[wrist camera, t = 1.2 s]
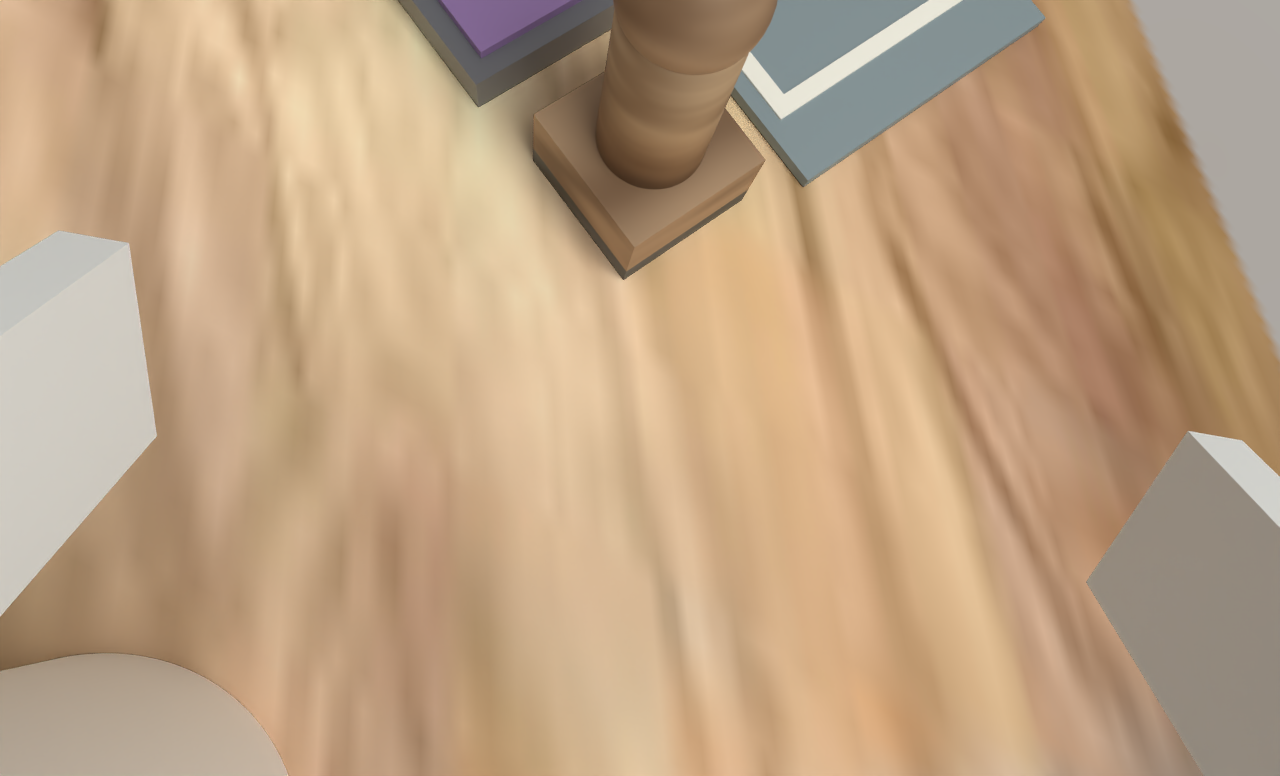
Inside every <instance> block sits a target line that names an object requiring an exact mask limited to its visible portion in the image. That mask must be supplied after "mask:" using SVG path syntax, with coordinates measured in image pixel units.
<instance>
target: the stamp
mask: <svg viewBox="0 0 1280 776" xmlns="http://www.w3.org/2000/svg"><path fill="white" fill-rule="evenodd" d="M777 1H778V0H613V3H614V8H615V9H614V15H613V22H612V28H611V35H610V41H609V48H608V54H607V60H606V67H605V72H603V73H601V74H600V75H598V76H596V77H595V78H593V79H591V80H590V81H588V82H586V83H585V84H583V85H581V86H580V87H578V88H576V89H575V90H573V91H571V92H570V93H568V94H567V95H565V96H563V97H562V98H560V99H558V100H557V101H555V102H553V103H552V104H550V105H548V106H547V107H545V108H543V109H542V110H540V111H538V112H537V113H535V114H534V127H533V161H534V162H535V163H536V165H537V166H538V167H539V169H540V170H541V171H542V173H543V174H544V175H545V177H546V178H547V179H548V181H549V182H550V183H551V185H552V186H553V187H554V189H555V190H556V191H557V193H558V194H559V195H560V197H561V198H562V199H563V200H564V202H565V203H566V204H567V206H568V207H569V208H570V210H571V211H572V212H573V214H574V215H575V216H576V218H577V219H578V220H579V222H580V223H581V224H582V226H583V227H584V228H585V230H586V231H587V232H588V234H589V235H590V236H591V238H592V239H593V240H594V242H595V243H596V244H597V246H598V247H599V248H600V250H601V251H602V252H603V254H604V255H605V256H606V258H607V259H608V260H609V262H610V263H611V264H612V266H613V267H614V268H615V270H616V271H617V272H618V274H619V275H620V276H621V277H622V279H623V280H624V279H626V278H627V277H629V276H630V275H632V274H633V273H635V272H636V271H638V270H639V269H641V268H642V267H643V266H645V265H646V264H648V263H649V262H651V261H652V260H654V259H655V258H657V257H658V256H660V255H661V254H663V253H664V252H666V251H667V250H669V249H670V248H672V247H673V246H675V245H676V244H677V243H679V242H680V241H682V240H683V239H685V238H686V237H688V236H689V235H691V234H692V233H694V232H695V231H697V230H698V229H700V228H701V227H703V226H704V225H706V224H707V223H709V222H710V221H711V220H713V219H714V218H716V217H717V216H719V215H720V214H722V213H723V212H725V211H726V210H728V209H729V208H731V207H732V206H734V205H735V204H737V203H738V202H740V201H741V200H742V199H743V197H744V195H745V194H746V192H747V190H748V189H749V187H750V185H751V184H752V182H753V180H754V178H755V177H756V175H757V173H758V172H759V170H760V168H761V167H762V165H763V163H764V162H765V159H764V157H763V156H762V155H761V154H760V152H759V151H758V150H757V148H756V147H755V146H754V145H753V143H752V142H751V141H750V140H749V138H748V137H747V136H746V134H745V133H744V132H743V131H742V129H741V128H740V127H739V125H738V124H737V123H736V122H735V120H734V119H733V118H732V117H731V115H730V114H729V113H728V111H727V110H726V109H725V107H726V105H727V102H728V100H729V98H730V95H731V93H732V91H733V89H734V86H735V84H736V82H737V79H738V77H739V75H740V73H741V70H742V68H743V66H744V63H745V61H746V59H747V57H748V54H749V52H750V51H751V50H752V49H753V48H754V47H755V46H756V45H757V44H758V42H759V41H760V40H761V38H762V37H763V35H764V34H765V32H766V30H767V28H768V26H769V25H770V23H771V20H772V18H773V15H774V12H775V9H776V6H777Z"/></svg>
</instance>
